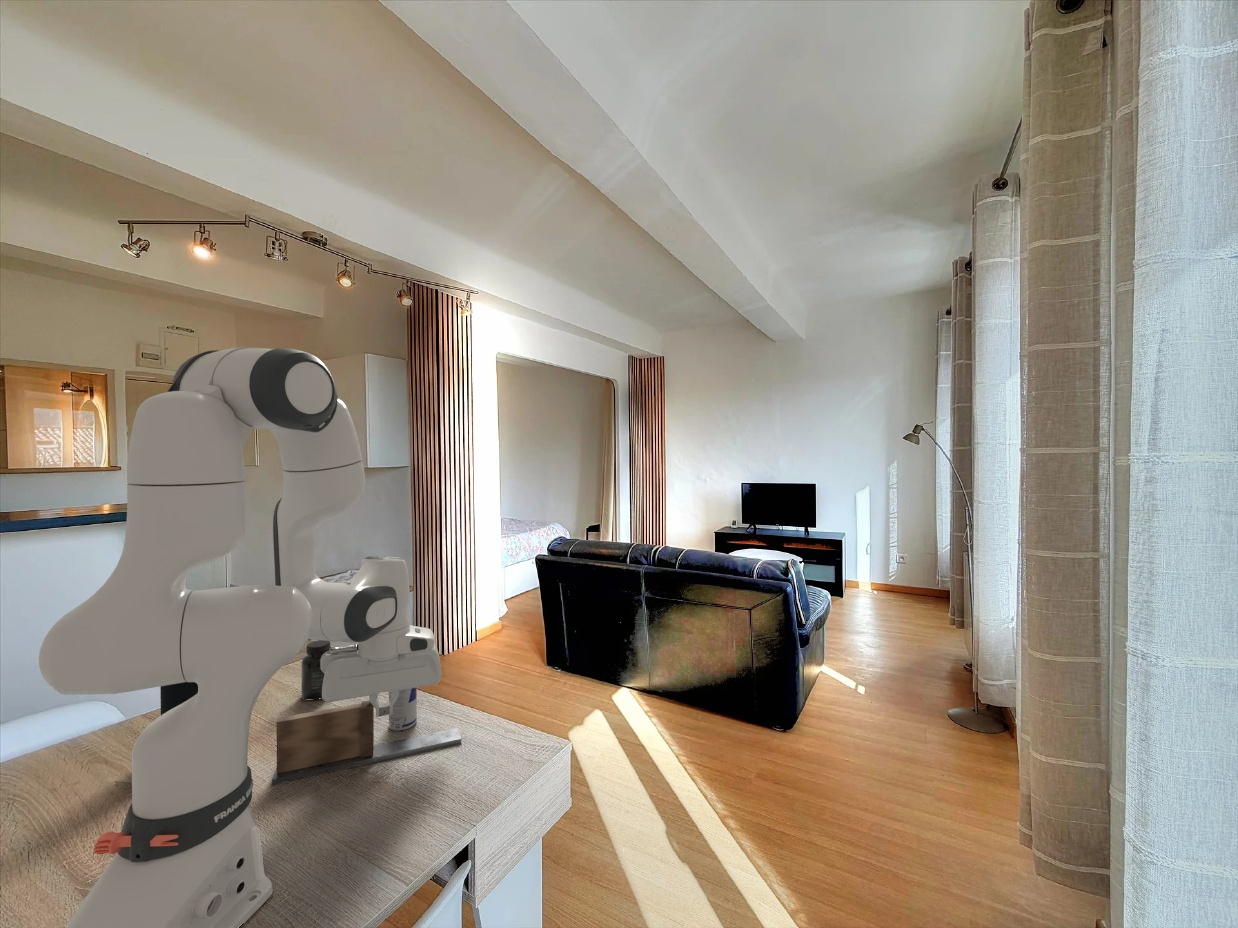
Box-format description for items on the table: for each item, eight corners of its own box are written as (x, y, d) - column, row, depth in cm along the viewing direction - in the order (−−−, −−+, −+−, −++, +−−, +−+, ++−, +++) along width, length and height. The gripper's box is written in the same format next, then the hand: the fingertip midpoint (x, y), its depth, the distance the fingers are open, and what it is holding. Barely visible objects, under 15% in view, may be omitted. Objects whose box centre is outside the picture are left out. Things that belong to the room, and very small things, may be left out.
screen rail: (458, 731, 102) (458, 727, 102) (461, 743, 98) (461, 738, 98) (277, 770, 89) (277, 765, 89) (271, 784, 85) (271, 779, 85)
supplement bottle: (302, 691, 119) (302, 641, 119) (335, 685, 122) (335, 636, 122) (300, 703, 113) (299, 651, 113) (334, 697, 116) (334, 645, 116)
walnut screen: (373, 746, 95) (373, 699, 95) (373, 755, 92) (372, 706, 92) (279, 766, 89) (279, 715, 88) (275, 775, 86) (275, 724, 86)
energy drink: (421, 718, 107) (421, 662, 107) (408, 732, 102) (408, 673, 101) (397, 717, 107) (397, 661, 107) (383, 730, 102) (383, 672, 102)
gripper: (317, 655, 87) (318, 734, 87) (442, 638, 95) (442, 711, 95) (322, 643, 92) (322, 717, 93) (439, 628, 101) (439, 696, 101)
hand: (384, 714), depth 94 cm, fingers closed
